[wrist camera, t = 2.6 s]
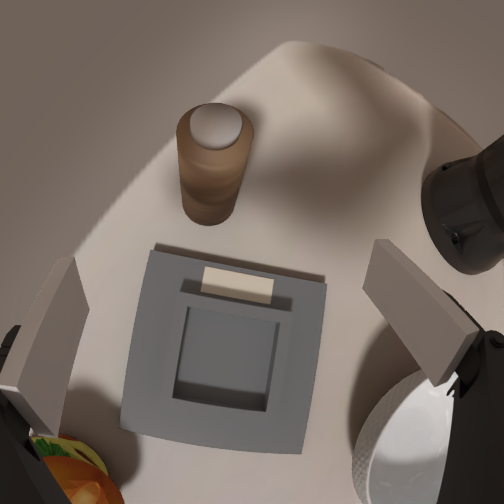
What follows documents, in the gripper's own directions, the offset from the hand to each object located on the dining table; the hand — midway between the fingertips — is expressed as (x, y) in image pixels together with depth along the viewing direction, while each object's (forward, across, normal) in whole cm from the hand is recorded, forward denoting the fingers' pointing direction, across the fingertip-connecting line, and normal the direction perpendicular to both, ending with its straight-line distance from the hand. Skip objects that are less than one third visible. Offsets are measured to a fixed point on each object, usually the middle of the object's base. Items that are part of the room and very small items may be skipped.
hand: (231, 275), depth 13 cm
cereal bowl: (-1, +18, -22) cm, 28 cm away
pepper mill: (+18, 0, -3) cm, 18 cm away
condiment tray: (+7, 0, -13) cm, 15 cm away
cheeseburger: (-1, -15, -22) cm, 27 cm away
